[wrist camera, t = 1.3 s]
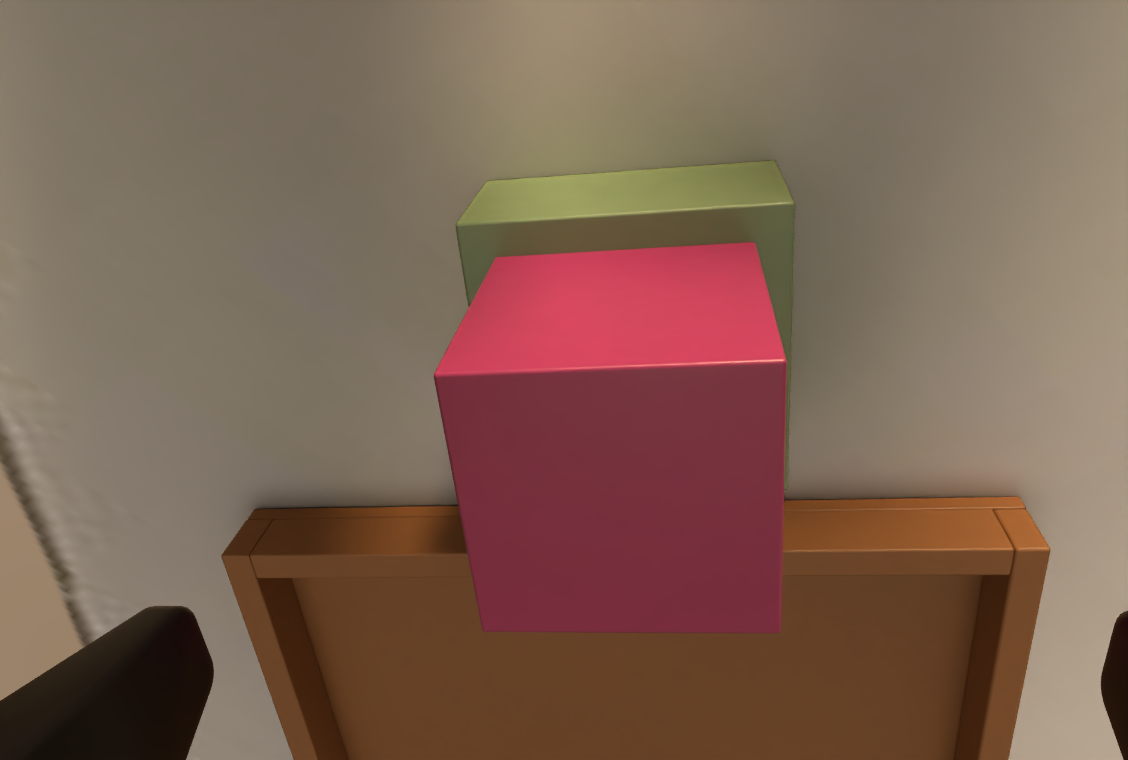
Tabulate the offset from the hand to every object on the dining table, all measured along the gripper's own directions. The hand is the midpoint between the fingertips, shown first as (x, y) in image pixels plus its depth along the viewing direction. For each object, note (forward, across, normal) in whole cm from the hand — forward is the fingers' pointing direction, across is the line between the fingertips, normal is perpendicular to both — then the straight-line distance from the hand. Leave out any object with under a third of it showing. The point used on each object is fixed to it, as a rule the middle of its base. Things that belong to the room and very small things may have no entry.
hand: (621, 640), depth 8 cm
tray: (+13, +1, +14) cm, 19 cm away
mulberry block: (+9, 0, +2) cm, 10 cm away
